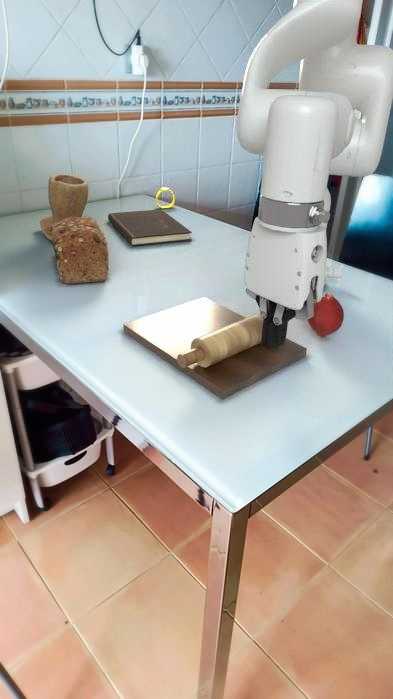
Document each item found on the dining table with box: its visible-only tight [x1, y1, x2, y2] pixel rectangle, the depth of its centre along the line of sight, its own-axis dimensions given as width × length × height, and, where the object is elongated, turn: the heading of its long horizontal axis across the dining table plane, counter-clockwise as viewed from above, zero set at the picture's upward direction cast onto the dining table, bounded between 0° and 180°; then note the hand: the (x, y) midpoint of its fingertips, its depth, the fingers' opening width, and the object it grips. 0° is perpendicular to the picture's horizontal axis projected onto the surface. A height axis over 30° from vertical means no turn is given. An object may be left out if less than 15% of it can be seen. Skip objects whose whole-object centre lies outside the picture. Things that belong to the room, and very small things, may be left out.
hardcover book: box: [107, 208, 192, 247], centre depth 128 cm, size 16×23×2 cm
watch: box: [155, 187, 176, 210], centre depth 148 cm, size 6×3×6 cm, turn 109°
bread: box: [50, 216, 110, 285], centre depth 101 cm, size 19×11×10 cm, turn 17°
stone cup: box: [39, 173, 89, 241], centre depth 119 cm, size 15×12×15 cm
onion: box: [306, 292, 345, 338], centre depth 79 cm, size 6×6×8 cm
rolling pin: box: [177, 312, 290, 368], centre depth 72 cm, size 22×4×4 cm, turn 131°
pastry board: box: [122, 296, 308, 400], centre depth 77 cm, size 18×24×2 cm
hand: (272, 344), depth 66 cm, fingers closed
